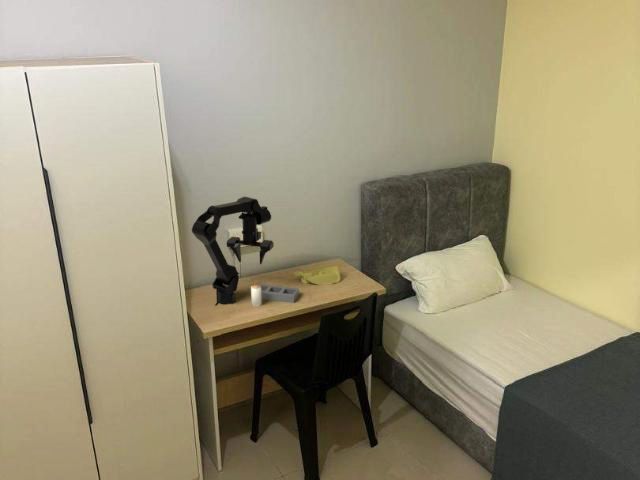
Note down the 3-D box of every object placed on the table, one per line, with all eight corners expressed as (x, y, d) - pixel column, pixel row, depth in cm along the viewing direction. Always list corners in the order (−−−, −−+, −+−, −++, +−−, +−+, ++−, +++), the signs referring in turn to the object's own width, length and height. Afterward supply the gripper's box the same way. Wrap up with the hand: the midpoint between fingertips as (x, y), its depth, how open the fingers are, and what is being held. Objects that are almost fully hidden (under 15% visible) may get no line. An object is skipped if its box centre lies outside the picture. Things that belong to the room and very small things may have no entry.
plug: (250, 306, 234) (249, 288, 231) (253, 302, 238) (252, 283, 235) (259, 307, 233) (259, 289, 230) (262, 303, 237) (262, 284, 234)
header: (251, 300, 241) (251, 291, 240) (257, 292, 248) (257, 283, 247) (293, 305, 237) (293, 296, 236) (298, 297, 245) (298, 288, 243)
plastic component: (327, 268, 269) (339, 265, 261) (329, 283, 269) (341, 281, 260) (289, 273, 259) (301, 271, 250) (292, 290, 258) (303, 288, 250)
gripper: (277, 223, 245) (277, 258, 250) (235, 219, 249) (236, 254, 254) (269, 231, 235) (269, 268, 240) (225, 227, 239) (226, 263, 244)
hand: (250, 263), depth 245 cm, fingers open, 9 cm apart
